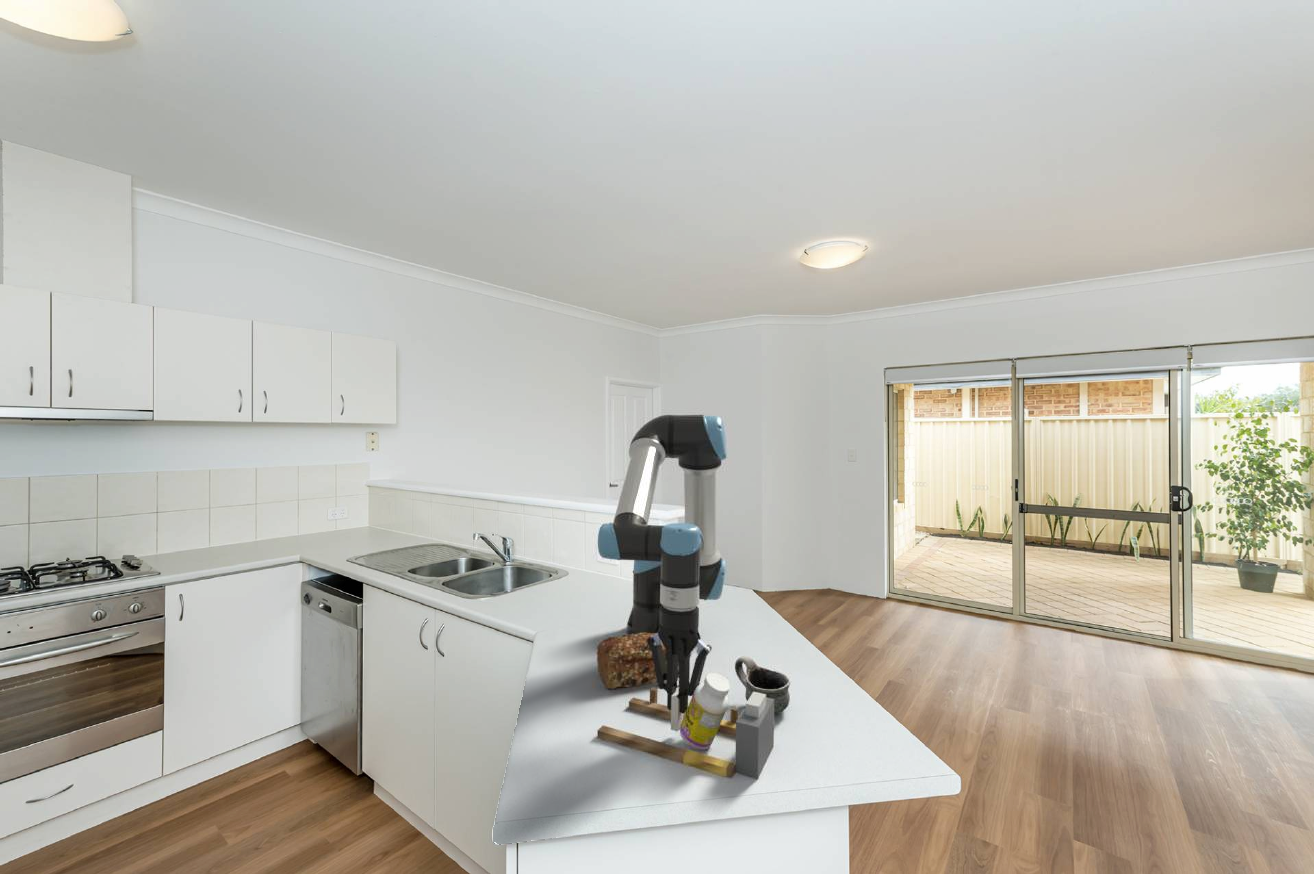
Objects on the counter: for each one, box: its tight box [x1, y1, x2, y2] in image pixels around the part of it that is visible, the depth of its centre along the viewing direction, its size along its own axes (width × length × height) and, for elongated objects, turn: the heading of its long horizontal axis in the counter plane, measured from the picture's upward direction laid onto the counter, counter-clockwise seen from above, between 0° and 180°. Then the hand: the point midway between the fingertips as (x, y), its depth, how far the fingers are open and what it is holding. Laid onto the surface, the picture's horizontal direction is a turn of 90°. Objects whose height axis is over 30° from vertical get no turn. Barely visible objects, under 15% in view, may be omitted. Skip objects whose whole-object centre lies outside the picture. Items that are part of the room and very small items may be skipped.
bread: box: [596, 632, 679, 690], centre depth 132 cm, size 19×11×10 cm, turn 110°
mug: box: [734, 655, 791, 716], centre depth 118 cm, size 10×12×10 cm
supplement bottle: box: [679, 672, 731, 750], centre depth 103 cm, size 7×7×13 cm
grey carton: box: [733, 692, 775, 780], centre depth 100 cm, size 4×11×11 cm, turn 154°
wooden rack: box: [596, 686, 739, 779], centre depth 107 cm, size 27×16×4 cm, turn 64°
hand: (677, 727), depth 106 cm, fingers closed
